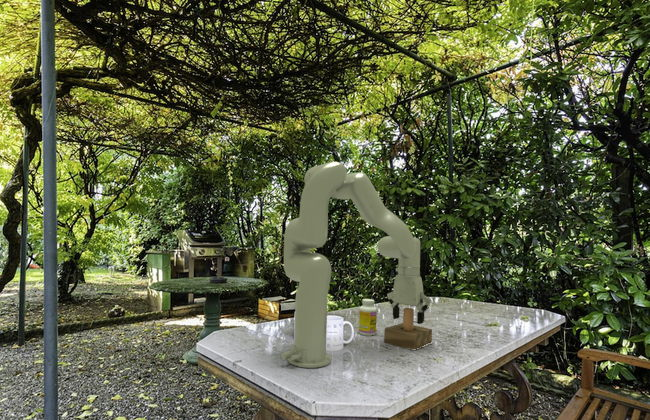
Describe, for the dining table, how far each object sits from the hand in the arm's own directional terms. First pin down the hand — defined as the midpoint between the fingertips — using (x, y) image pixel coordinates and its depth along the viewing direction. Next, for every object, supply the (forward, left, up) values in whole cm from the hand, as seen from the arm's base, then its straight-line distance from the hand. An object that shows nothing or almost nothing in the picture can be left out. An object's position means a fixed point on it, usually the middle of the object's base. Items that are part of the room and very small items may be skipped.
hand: (407, 320), depth 129 cm
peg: (0, 0, -8) cm, 8 cm away
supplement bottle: (-1, +17, -8) cm, 19 cm away
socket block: (0, 0, -8) cm, 8 cm away
